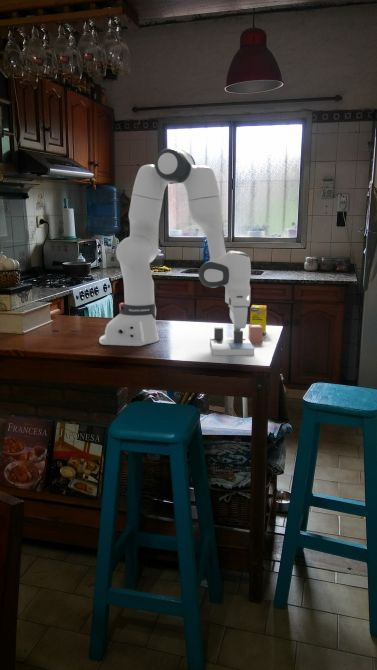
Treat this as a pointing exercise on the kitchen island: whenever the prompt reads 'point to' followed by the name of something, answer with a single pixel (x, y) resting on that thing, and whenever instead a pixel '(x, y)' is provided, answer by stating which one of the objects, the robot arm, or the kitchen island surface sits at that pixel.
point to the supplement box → (258, 316)
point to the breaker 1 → (218, 333)
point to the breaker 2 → (238, 336)
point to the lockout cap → (255, 333)
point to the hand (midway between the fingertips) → (237, 335)
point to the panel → (231, 347)
